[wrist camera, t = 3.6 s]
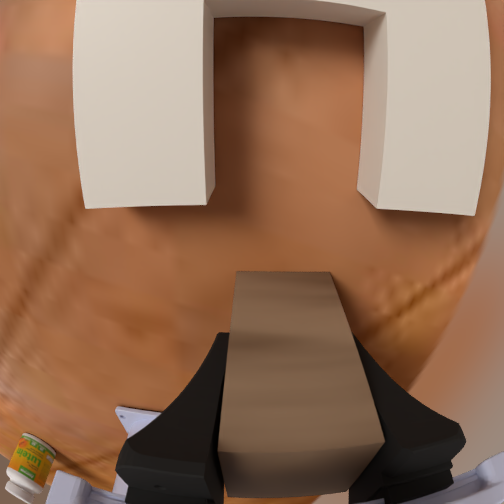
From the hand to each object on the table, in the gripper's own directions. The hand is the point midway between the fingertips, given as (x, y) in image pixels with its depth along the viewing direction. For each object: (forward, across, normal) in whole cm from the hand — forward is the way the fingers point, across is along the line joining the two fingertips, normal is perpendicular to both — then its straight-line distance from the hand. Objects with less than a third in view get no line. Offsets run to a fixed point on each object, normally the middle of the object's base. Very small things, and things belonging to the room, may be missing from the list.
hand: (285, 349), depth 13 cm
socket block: (+3, 0, -14) cm, 14 cm away
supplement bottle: (+3, +30, +26) cm, 40 cm away
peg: (+3, 0, 0) cm, 3 cm away
